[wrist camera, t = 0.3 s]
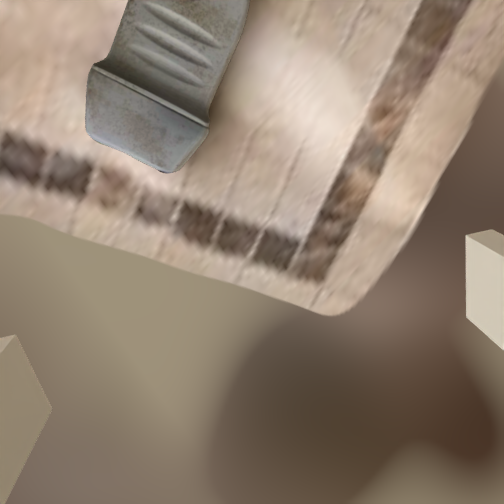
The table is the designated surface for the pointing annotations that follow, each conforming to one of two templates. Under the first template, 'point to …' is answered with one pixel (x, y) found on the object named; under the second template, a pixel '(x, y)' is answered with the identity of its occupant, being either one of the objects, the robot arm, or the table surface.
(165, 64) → the handheld device
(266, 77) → the table surface
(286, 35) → the table surface
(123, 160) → the table surface
